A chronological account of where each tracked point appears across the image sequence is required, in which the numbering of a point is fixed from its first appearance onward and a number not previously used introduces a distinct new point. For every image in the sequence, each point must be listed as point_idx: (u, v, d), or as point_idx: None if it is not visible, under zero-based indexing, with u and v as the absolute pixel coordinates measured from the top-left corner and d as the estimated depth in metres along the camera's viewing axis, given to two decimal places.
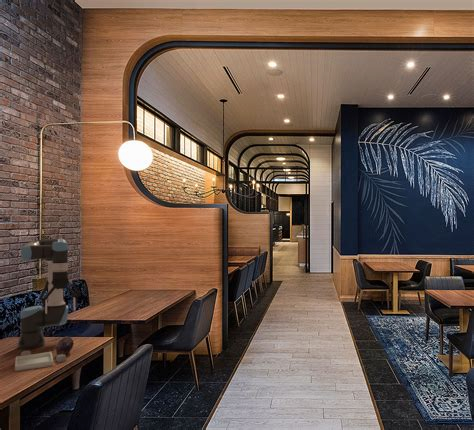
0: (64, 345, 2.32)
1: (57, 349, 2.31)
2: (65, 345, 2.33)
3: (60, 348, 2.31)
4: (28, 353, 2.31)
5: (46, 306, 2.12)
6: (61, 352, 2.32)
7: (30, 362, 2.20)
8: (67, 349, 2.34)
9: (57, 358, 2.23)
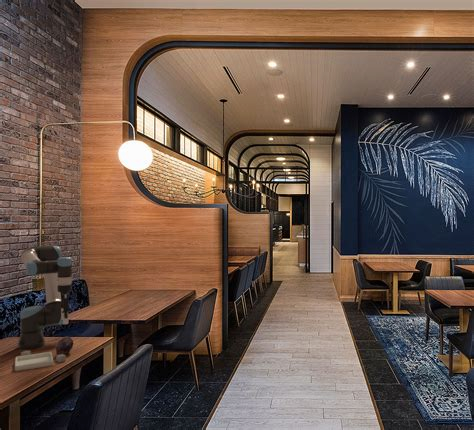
0: (64, 345, 2.32)
1: (57, 349, 2.31)
2: (65, 345, 2.33)
3: (60, 348, 2.31)
4: (28, 353, 2.31)
5: (61, 313, 2.43)
6: (61, 352, 2.32)
7: (30, 362, 2.20)
8: (67, 349, 2.34)
9: (57, 358, 2.23)
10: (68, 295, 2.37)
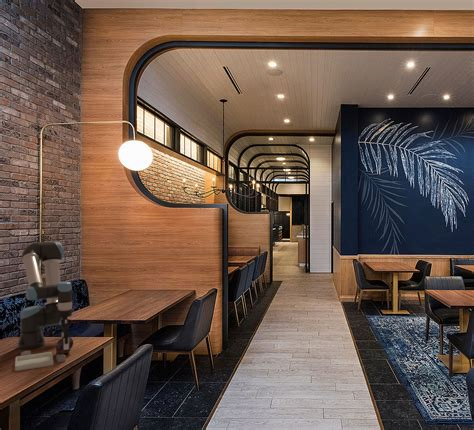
0: None
1: (57, 348, 2.31)
2: None
3: (60, 347, 2.32)
4: (28, 353, 2.31)
5: None
6: (61, 351, 2.32)
7: (30, 362, 2.20)
8: None
9: (56, 358, 2.23)
10: (68, 320, 2.36)
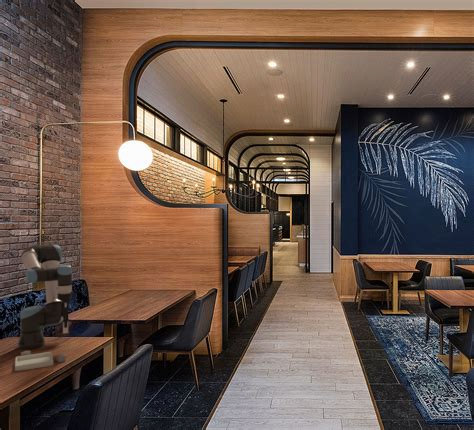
0: None
1: (56, 330, 2.32)
2: None
3: (59, 330, 2.32)
4: (28, 353, 2.31)
5: (61, 321, 2.43)
6: (60, 333, 2.32)
7: (30, 362, 2.20)
8: None
9: (56, 358, 2.23)
10: (68, 303, 2.37)
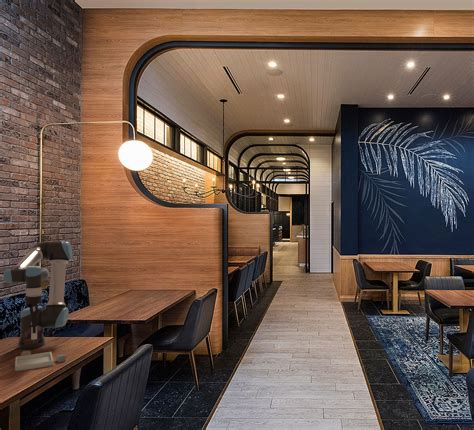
0: None
1: (24, 336, 2.14)
2: None
3: (27, 335, 2.14)
4: (28, 353, 2.31)
5: None
6: (28, 340, 2.14)
7: (30, 362, 2.20)
8: None
9: (57, 358, 2.23)
10: (37, 307, 2.20)
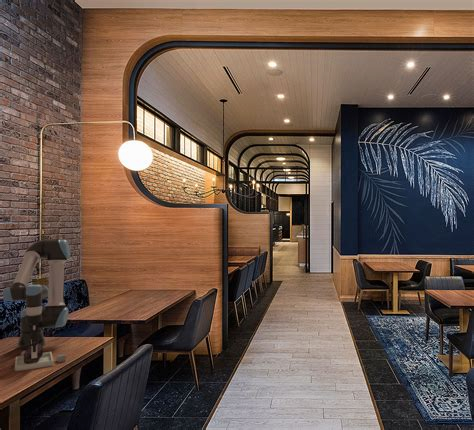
0: None
1: (25, 356, 2.14)
2: None
3: (28, 356, 2.14)
4: None
5: None
6: (29, 360, 2.14)
7: None
8: None
9: (56, 358, 2.23)
10: (38, 326, 2.20)
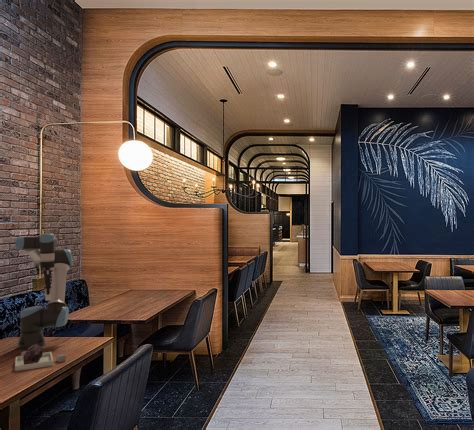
0: (32, 354, 2.14)
1: (24, 358, 2.13)
2: (33, 354, 2.15)
3: (27, 358, 2.13)
4: None
5: None
6: (29, 362, 2.14)
7: None
8: (35, 358, 2.16)
9: (57, 358, 2.23)
10: None
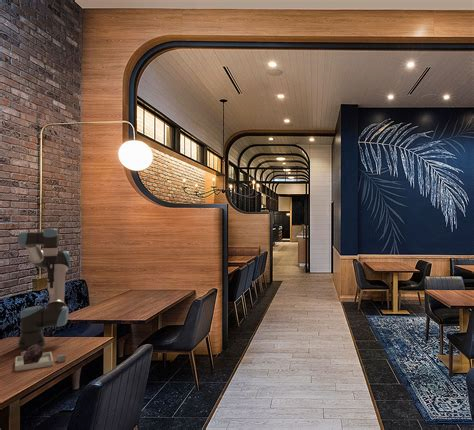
0: (32, 354, 2.14)
1: (24, 358, 2.13)
2: (33, 354, 2.15)
3: (27, 358, 2.13)
4: None
5: None
6: (29, 362, 2.14)
7: None
8: (35, 358, 2.16)
9: (57, 358, 2.23)
10: (54, 266, 2.39)
